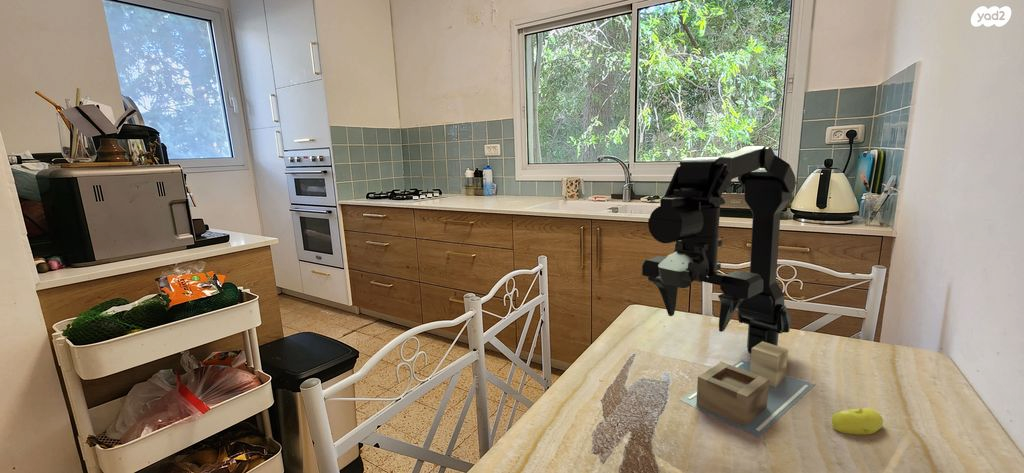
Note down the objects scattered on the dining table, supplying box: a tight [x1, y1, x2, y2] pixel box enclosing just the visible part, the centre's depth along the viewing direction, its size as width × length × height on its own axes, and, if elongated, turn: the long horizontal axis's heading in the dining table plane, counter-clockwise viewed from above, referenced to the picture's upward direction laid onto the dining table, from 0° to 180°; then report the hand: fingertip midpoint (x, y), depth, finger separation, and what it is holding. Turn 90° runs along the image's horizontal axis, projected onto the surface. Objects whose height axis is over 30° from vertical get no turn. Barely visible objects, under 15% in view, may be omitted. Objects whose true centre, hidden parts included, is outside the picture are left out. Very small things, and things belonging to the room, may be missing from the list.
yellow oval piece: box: [831, 407, 884, 435], centre depth 66 cm, size 4×8×4 cm, turn 94°
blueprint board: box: [679, 359, 816, 438], centre depth 76 cm, size 23×13×1 cm, turn 127°
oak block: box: [750, 341, 789, 387], centre depth 80 cm, size 4×4×6 cm
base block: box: [696, 361, 769, 427], centre depth 72 cm, size 8×8×5 cm
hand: (695, 323), depth 73 cm, fingers open, 9 cm apart
